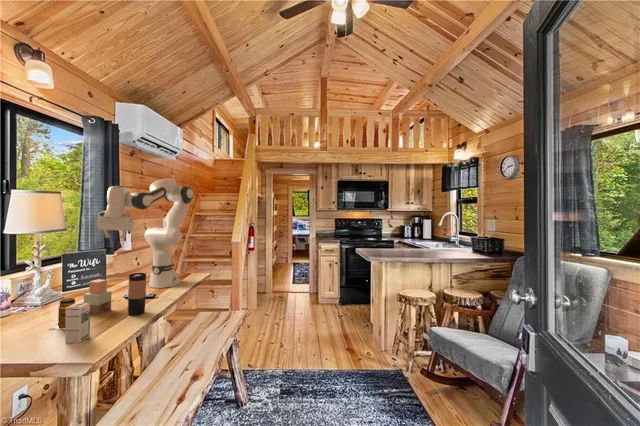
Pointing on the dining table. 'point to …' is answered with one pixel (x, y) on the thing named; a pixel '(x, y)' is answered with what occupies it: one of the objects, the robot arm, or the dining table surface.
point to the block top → (97, 298)
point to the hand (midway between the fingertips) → (115, 237)
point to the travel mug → (136, 294)
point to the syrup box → (77, 322)
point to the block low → (100, 308)
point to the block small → (98, 286)
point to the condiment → (64, 311)
